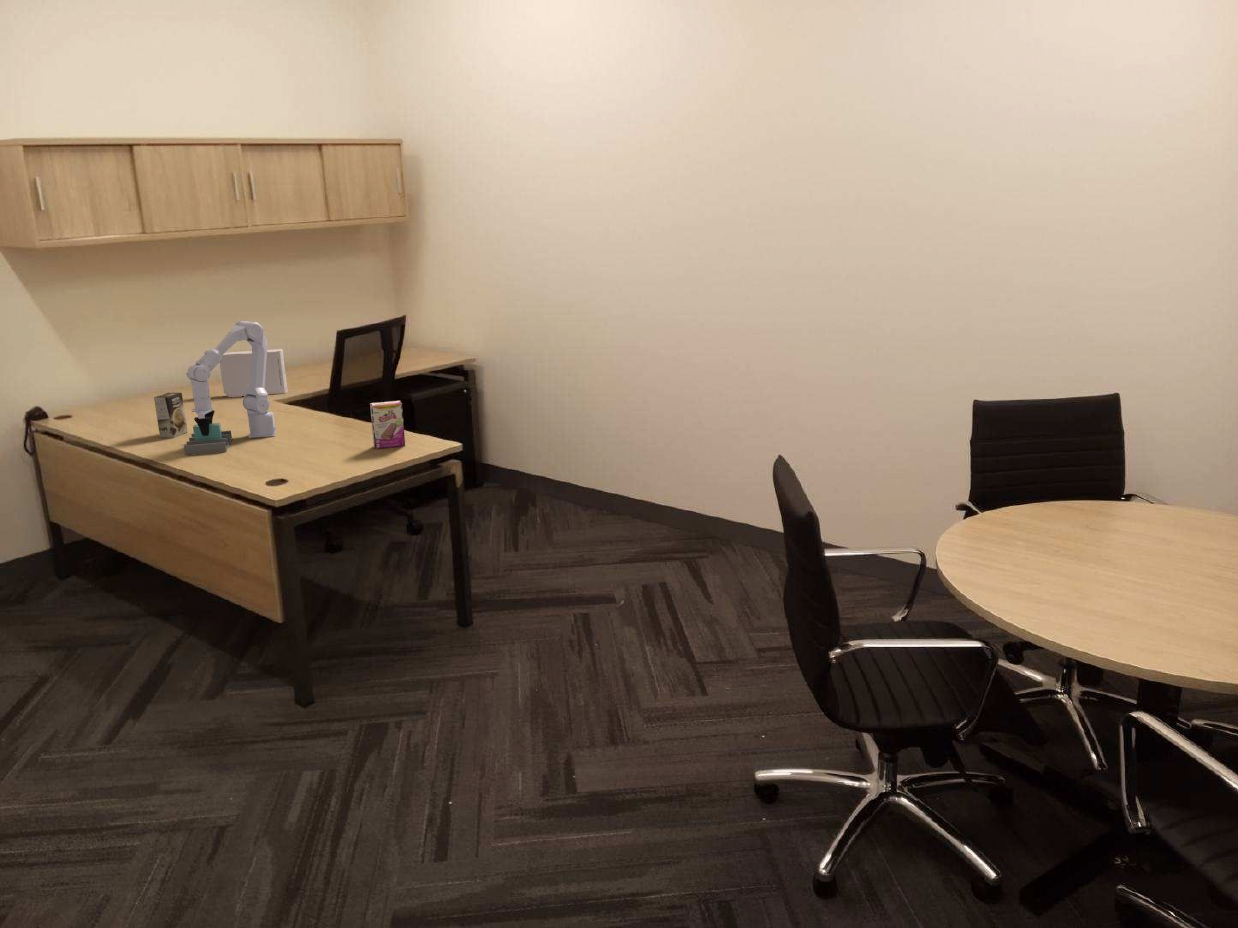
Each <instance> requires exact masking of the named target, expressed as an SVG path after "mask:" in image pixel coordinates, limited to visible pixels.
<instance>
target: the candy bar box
mask: <svg viewBox="0 0 1238 928" xmlns="http://www.w3.org/2000/svg"><path fill="white" fill-rule="evenodd" d="M369 406H370V407H369V408H370V417H371V428H372V429H371V431H372V443H373V447H374V449H375V450H379V449H388V448H389V449H390V448H398V447H405V446H406V439H405V437H406V436H405V425H404V424H405V423H404V413H403V403H402V402H401V400H392V401H391V400H390V401H384V402H383V401H381V402H371V403H369Z"/></svg>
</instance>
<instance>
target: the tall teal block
mask: <svg viewBox="0 0 1238 928" xmlns="http://www.w3.org/2000/svg"><path fill="white" fill-rule="evenodd" d="M192 429H193V433H194V437H195V441H198V440H211V439H223V438H222V431H223V430H222V426H221V422H215V423H213V422H212V424H209V436H202V434H201V431H200V428H199V426H198V424H194V425H193V426H192Z"/></svg>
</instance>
